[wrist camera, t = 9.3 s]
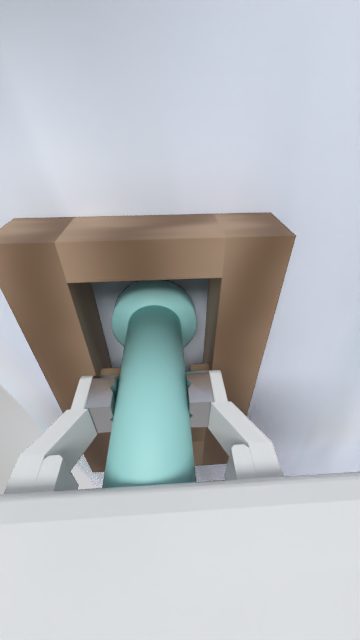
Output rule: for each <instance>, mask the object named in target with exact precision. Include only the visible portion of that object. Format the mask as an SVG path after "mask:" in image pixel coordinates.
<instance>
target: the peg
mask: <svg viewBox="0 0 360 640" xmlns="http://www.w3.org/2000/svg"><path fill="white" fill-rule="evenodd" d="M196 326H197V321H196V315H195V310H194V305H193V302H192V300H191V298H190V296H189V295H188V294H187V292H186V291H185V290H184V289H182V288H181V287H180V286H178V285H176V284H174V283H172V282H169V281H165V280H143V281H139V282H136V283H134V284H132V285H130V286H129V287H127V288H126V289H125V290H124V291H123V292H122V293H121V294H120V296H119V297H118V299H117V301H116V304H115V309H114V313H113V317H112V329H113V333H114V335H115V337H116V338H117V340H118V341H119V342H120V343H121V344H122V345H123V346H124V353H123V359H122V366H121V372H120V378H119V385H118V391H117V397H116V404H115V410H114V416H113V423H112V429H111V436H110V442H109V448H108V455H107V461H106V467H105V474H104V480H103V486H102V488H112V487H128V486H144V485H159V484H175V483H191V482H196V476H195V466H194V456H193V445H192V435H191V424H190V414H189V405H188V393H187V384H186V372H185V362H184V351H183V348H184V347H185V346H186V345H187V344H188V343H189V342H190V341H191V339H192V338H193V336H194V334H195V331H196Z"/></svg>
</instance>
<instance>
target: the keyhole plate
mask: <svg viewBox="0 0 360 640" xmlns="http://www.w3.org/2000/svg"><path fill="white" fill-rule="evenodd" d="M295 238H296V235H295V234H294V233H293V232H291V231H290V230H289V229H288V228H287V227H286V226H285V225H284V224H283V223H282V222H280V221H279V220H278V219H277V218H276V217H275V216H274V215H273V214H272V213H230V214H187V215H144V216H102V217H59V218H16V219H13V220H11V221H10V222H8V223H7V224H6V225H4V226H3V227H2V228H0V288H1V290H2V292H3V294H4V296H5V298H6V300H7V302H8V304H9V306H10V308H11V310H12V312H13V314H14V316H15V318H16V320H17V322H18V324H19V326H20V328H21V330H22V332H23V334H24V336H25V338H26V340H27V342H28V344H29V346H30V348H31V350H32V352H33V354H34V356H35V358H36V360H37V362H38V364H39V366H40V368H41V370H42V372H43V374H44V376H45V378H46V380H47V382H48V384H49V386H50V388H51V390H52V392H53V394H54V396H55V398H56V400H57V402H58V404H59V406H60V408H61V410H62V412H63V413H64V412H65V411H66V410H70V409H71V406H72V403H73V400H74V396H75V393H76V390H77V387H78V383H79V380H80V378H81V377H82V376H103V375H118V379H119V378H120V372H121V368H112V366H111V362H110V358H109V354H108V350H107V346H106V342H105V338H104V333H103V329H102V325H101V321H100V317H99V313H98V309H97V305H96V301H95V297H94V293H93V289H92V285H91V282H110V281H140V280H169V279H198V278H209V286H208V300H207V313H206V327H205V341H204V355H203V364H190V371H207V370H208V371H211V370H220V371H221V374H222V379H223V383H224V387H225V391H226V396H227V400H228V401H231V402H232V403H233V404H234V405H235V406H236V407H237V408H238V409H239V410H240V411H241V412H242V413H243V414H244V415H245V416H247V412H248V408H249V405H250V401H251V398H252V394H253V390H254V387H255V383H256V379H257V376H258V372H259V368H260V365H261V361H262V358H263V354H264V350H265V347H266V343H267V339H268V336H269V332H270V328H271V325H272V321H273V318H274V314H275V310H276V307H277V303H278V299H279V296H280V292H281V288H282V285H283V281H284V278H285V274H286V270H287V267H288V263H289V259H290V256H291V252H292V248H293V245H294V241H295ZM118 385H119V382H118ZM191 435H192V445H193V456H194V466H198V465H213V464H227V463H228V459H229V456H228V454H227V453H226V452H225V450H224V449H223V447H222V446H221V445H220V443H219V442H218V441H217V439H216V438H215V437H214V435H213V434H212V433H211V431H210V430H209V428H208V427H191ZM110 436H111V432H104V433H97V436H96V437H95V438H94V440H93V441H92V442H91V444H90V445H89V446H88V448H87V449H86V451H85V452H84V453H83V454H84V456H85V458H86V460H87V462H88V464H89V466H90V468H91V470H92V472H105V467H106V461H107V455H108V448H109V442H110Z"/></svg>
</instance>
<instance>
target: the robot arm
mask: <svg viewBox="0 0 360 640" xmlns="http://www.w3.org/2000/svg"><path fill="white" fill-rule="evenodd" d="M118 382H119V379H118V375H103V376H82V377H81V378H80V380H79V383H78V387H77V390H76V393H75V396H74V400H73V403H72V406H71V409H70V410H66V411H65V412H64V413H63V414H62V415H61V416H60V417H59V418H58V419H57V420H56V421H55V422H54V423H53V424H52V425H51V426H50V427H49V428H48V429H47V430H46V431H45V432H44V433H43V434H41V435H40V436H39V438H37V439H36V440H35V441H34V442H33V443H32V444H31V445H30V446H29V447H28V448H27V449H26V450H25V451H24V452H23V453H22V454H21V455H20V456H19V458H18V461H17V463H16V465H15V468H14V470H13V472H12V475H11V477H10V480H9V482H8V485H7V487H6V489H5V492H4V494H3V495H0V640H360V472H348V473H332V474H316V475H301V476H285V477H284V476H283V473H282V470H281V467H280V464H279V461H278V458H277V455H276V452H275V449H274V446H273V443H272V441H271V440H270V439H269V438H268V437H267V436H266V435H265V434H264V433H263V432H262V431H261V430H260V429H258V428H257V427H256V426H255V425H254V424H253V423H252V422H251V421H250V420H249V419H248V418H247V417H246V416H245V415H244V414H243V413H242V412H241V411H240V410H239V409H238V408H237V407H236V406H235V405H234V404H233V403H232V402H231V401H228V400H227V396H226V391H225V387H224V383H223V379H222V374H221V371H220V370H211V371H208V370H207V371H190V372H186V384H187V393H188V405H189V414H190V424H191V427H208V428H209V430H210V431H211V433H212V434H213V435H214V437H215V438H216V439H217V441H218V442H219V443H220V445H221V446H222V447H223V449H224V450H225V452H226V453H227V454H228V456H229V459H228V463H227V467H226V471H225V475H224V477H225V480H222V481H207V482H191V483H175V484H159V485H144V486H128V487H112V488H97V489H81V490H78V483H77V481H76V480H75V478H74V477H73V475H72V473H71V470H72V468H73V467H74V466H75V464H76V463H77V461H78V460H79V459H80V457H81V456H82V455H83V453H84V452H85V451H86V449H87V448H88V446H89V445H90V444H91V442H92V441H93V440H94V438H95V437H96V436H97V433H104V432H111V429H112V423H113V416H114V410H115V404H116V397H117V391H118Z"/></svg>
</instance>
